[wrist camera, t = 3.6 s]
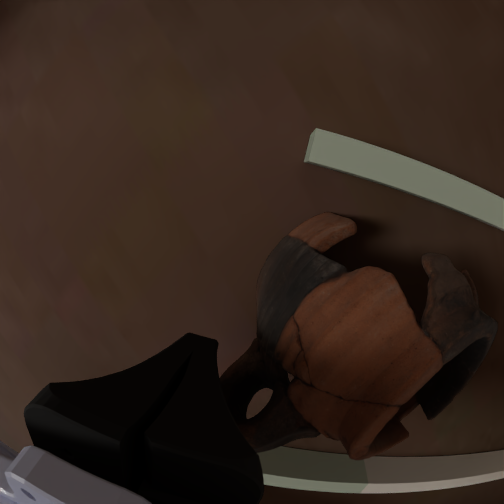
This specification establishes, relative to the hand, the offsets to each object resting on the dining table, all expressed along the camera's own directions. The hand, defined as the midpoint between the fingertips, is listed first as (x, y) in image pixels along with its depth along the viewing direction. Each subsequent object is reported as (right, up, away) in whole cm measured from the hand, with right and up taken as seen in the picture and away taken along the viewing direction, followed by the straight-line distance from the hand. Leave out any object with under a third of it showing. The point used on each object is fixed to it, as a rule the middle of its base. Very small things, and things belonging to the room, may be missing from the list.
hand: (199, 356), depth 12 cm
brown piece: (+6, +1, +3) cm, 7 cm away
